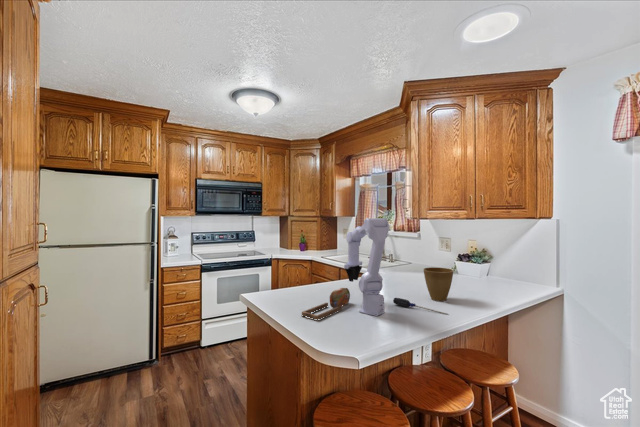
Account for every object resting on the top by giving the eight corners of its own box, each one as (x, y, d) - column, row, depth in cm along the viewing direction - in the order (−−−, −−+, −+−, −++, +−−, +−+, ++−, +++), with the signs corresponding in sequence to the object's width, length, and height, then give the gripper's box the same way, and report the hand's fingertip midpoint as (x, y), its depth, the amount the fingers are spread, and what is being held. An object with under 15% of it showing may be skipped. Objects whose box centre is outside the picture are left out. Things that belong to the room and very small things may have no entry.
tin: (333, 310, 140) (333, 292, 140) (328, 309, 142) (328, 291, 142) (350, 303, 152) (350, 286, 152) (345, 302, 154) (345, 285, 154)
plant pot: (447, 295, 166) (448, 267, 166) (457, 304, 151) (457, 272, 151) (420, 295, 167) (420, 266, 167) (427, 303, 153) (427, 271, 153)
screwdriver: (449, 314, 136) (449, 305, 136) (448, 316, 133) (448, 307, 133) (394, 304, 151) (394, 296, 151) (392, 305, 148) (392, 298, 148)
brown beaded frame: (341, 310, 140) (341, 306, 140) (317, 321, 126) (317, 316, 126) (326, 306, 146) (326, 302, 146) (301, 316, 132) (301, 311, 132)
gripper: (354, 252, 165) (354, 277, 165) (339, 255, 154) (339, 281, 154) (365, 253, 160) (365, 279, 160) (351, 256, 149) (350, 283, 149)
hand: (353, 280), depth 157 cm, fingers open, 4 cm apart
